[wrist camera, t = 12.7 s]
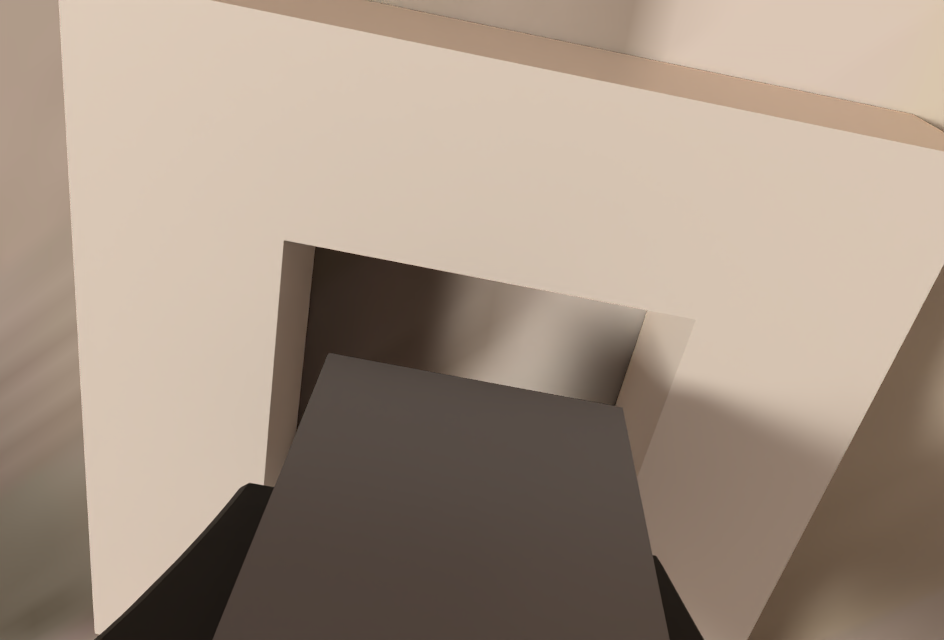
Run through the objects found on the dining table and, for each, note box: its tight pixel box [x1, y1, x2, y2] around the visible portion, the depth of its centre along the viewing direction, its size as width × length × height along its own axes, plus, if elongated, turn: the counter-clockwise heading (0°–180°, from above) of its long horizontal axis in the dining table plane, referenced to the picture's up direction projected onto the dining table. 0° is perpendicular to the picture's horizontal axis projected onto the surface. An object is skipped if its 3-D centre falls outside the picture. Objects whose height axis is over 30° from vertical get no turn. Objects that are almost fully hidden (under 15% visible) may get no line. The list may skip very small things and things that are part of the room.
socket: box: [59, 0, 944, 640], centre depth 14 cm, size 12×12×2 cm
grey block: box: [213, 353, 670, 640], centre depth 9 cm, size 4×4×5 cm
